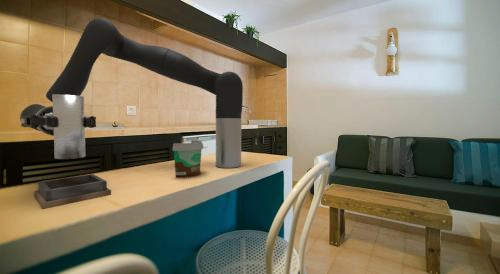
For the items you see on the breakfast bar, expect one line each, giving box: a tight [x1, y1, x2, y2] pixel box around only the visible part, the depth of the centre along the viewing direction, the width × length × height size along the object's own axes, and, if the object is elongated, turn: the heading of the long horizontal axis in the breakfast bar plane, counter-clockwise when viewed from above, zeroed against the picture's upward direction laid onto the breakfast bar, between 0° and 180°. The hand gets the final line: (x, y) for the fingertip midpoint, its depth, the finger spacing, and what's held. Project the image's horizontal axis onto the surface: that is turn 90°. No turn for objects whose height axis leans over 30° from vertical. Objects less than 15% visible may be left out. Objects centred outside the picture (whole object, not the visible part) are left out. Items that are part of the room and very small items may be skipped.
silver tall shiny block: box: [52, 94, 86, 160], centre depth 49 cm, size 5×5×13 cm
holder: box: [33, 173, 112, 210], centre depth 50 cm, size 11×11×3 cm
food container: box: [172, 139, 205, 179], centre depth 69 cm, size 12×6×10 cm, turn 168°
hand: (71, 121), depth 48 cm, fingers closed on silver tall shiny block, 5 cm apart
